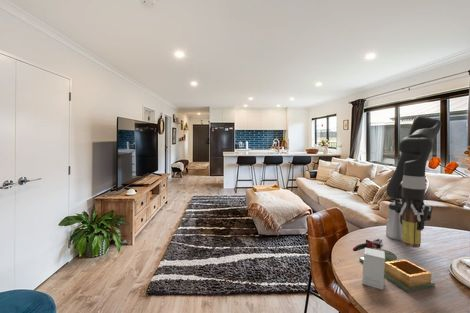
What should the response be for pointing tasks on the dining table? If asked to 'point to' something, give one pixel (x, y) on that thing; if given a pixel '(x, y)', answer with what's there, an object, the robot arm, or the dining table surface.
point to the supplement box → (373, 268)
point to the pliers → (369, 244)
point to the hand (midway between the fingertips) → (411, 226)
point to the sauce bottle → (410, 226)
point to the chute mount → (405, 273)
